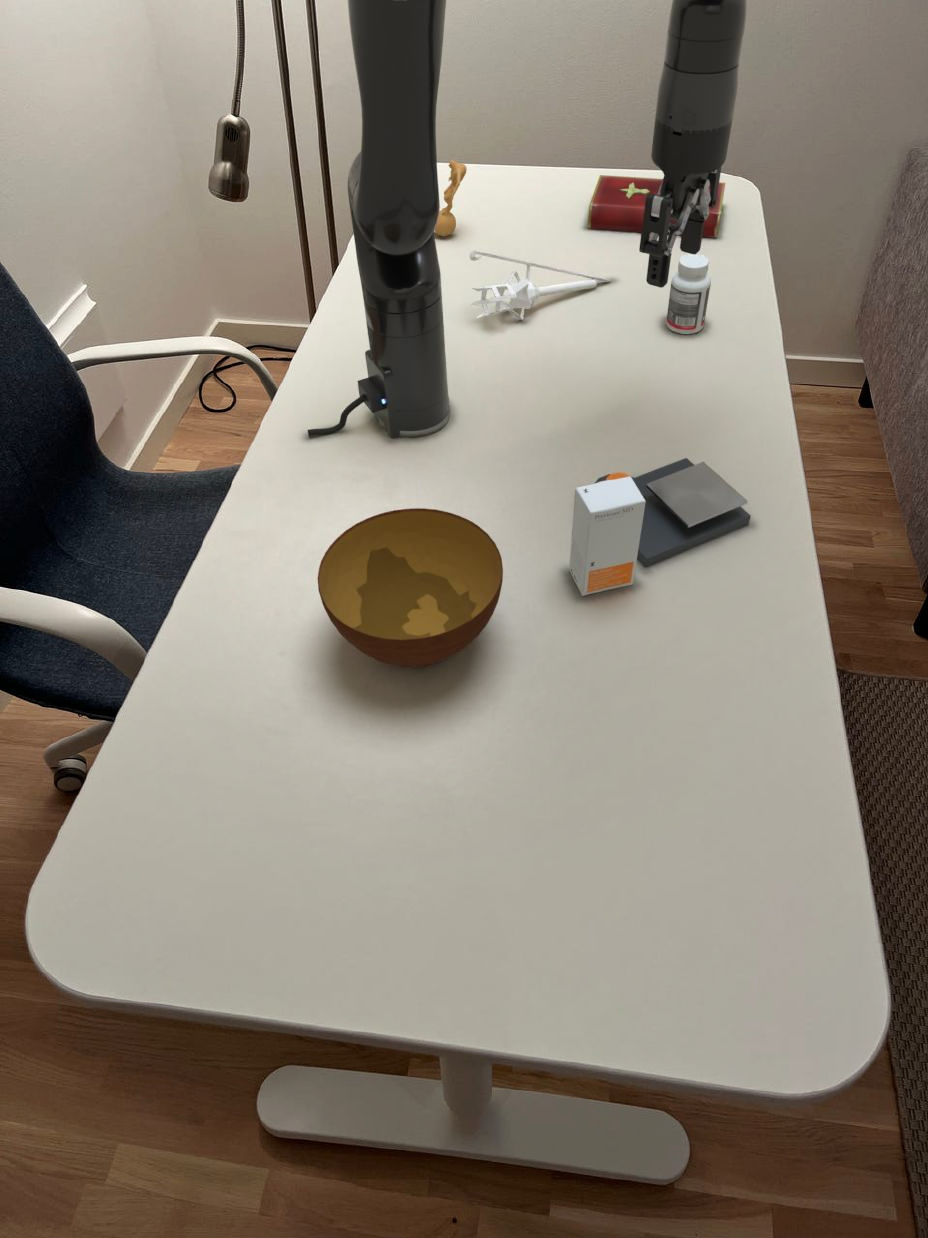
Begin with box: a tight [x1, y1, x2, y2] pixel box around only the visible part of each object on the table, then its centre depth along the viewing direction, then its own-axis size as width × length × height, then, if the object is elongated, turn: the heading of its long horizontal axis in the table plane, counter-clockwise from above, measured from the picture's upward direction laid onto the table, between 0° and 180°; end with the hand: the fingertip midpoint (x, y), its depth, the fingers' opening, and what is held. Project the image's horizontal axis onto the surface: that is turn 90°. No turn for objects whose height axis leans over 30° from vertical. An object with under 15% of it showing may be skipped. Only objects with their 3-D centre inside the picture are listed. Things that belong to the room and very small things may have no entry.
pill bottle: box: [665, 253, 712, 335], centre depth 130 cm, size 5×5×10 cm
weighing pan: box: [646, 461, 749, 528], centre depth 104 cm, size 8×8×1 cm
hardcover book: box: [587, 174, 726, 239], centre depth 155 cm, size 12×21×4 cm, turn 76°
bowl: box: [317, 507, 504, 668], centre depth 92 cm, size 18×18×10 cm
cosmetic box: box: [568, 475, 646, 597], centre depth 96 cm, size 6×4×12 cm
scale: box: [593, 457, 752, 568], centre depth 106 cm, size 14×12×3 cm
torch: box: [468, 250, 612, 321], centre depth 137 cm, size 6×9×25 cm
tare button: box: [606, 472, 630, 480], centre depth 105 cm, size 3×3×2 cm
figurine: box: [434, 159, 468, 237], centre depth 151 cm, size 8×6×12 cm
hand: (673, 267), depth 104 cm, fingers open, 8 cm apart
